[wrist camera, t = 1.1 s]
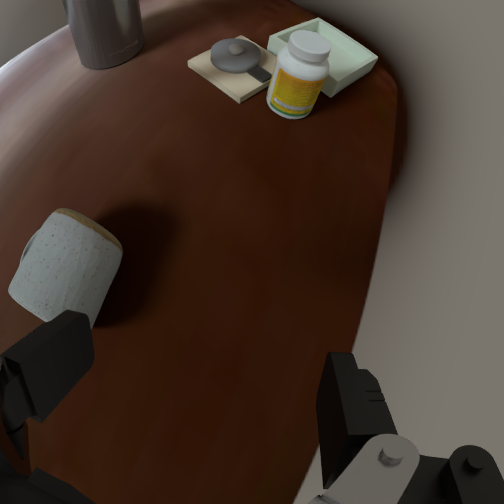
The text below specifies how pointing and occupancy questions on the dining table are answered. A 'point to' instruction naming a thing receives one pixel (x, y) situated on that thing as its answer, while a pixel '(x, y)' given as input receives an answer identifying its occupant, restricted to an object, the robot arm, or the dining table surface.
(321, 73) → the supplement bottle
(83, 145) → the dining table surface
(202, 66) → the beige board with disc
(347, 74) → the tray
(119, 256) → the ceramic mug
